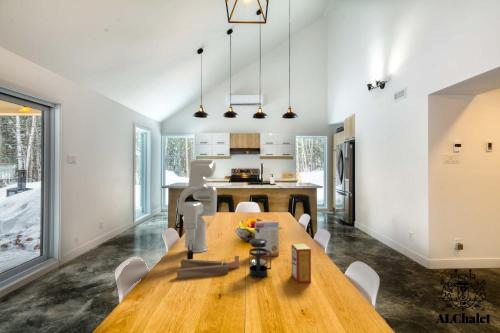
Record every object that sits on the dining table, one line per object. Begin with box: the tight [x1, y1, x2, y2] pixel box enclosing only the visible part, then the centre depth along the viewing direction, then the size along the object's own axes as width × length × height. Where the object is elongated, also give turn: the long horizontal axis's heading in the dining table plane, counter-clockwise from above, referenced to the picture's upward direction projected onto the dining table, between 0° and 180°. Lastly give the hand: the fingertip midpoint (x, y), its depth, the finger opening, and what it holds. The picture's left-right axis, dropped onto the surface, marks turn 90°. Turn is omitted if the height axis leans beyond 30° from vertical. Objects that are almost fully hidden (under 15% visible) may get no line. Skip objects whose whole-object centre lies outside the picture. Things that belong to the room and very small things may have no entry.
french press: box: [248, 228, 272, 279], centre depth 131 cm, size 12×9×23 cm
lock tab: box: [226, 254, 240, 269], centre depth 140 cm, size 2×7×6 cm, turn 105°
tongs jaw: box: [180, 258, 223, 269], centre depth 139 cm, size 2×22×4 cm, turn 81°
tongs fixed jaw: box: [176, 261, 229, 280], centre depth 131 cm, size 4×25×5 cm, turn 105°
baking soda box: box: [291, 242, 312, 284], centre depth 126 cm, size 10×6×16 cm
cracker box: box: [254, 219, 280, 258], centre depth 161 cm, size 14×6×21 cm, turn 100°
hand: (190, 258), depth 145 cm, fingers closed
